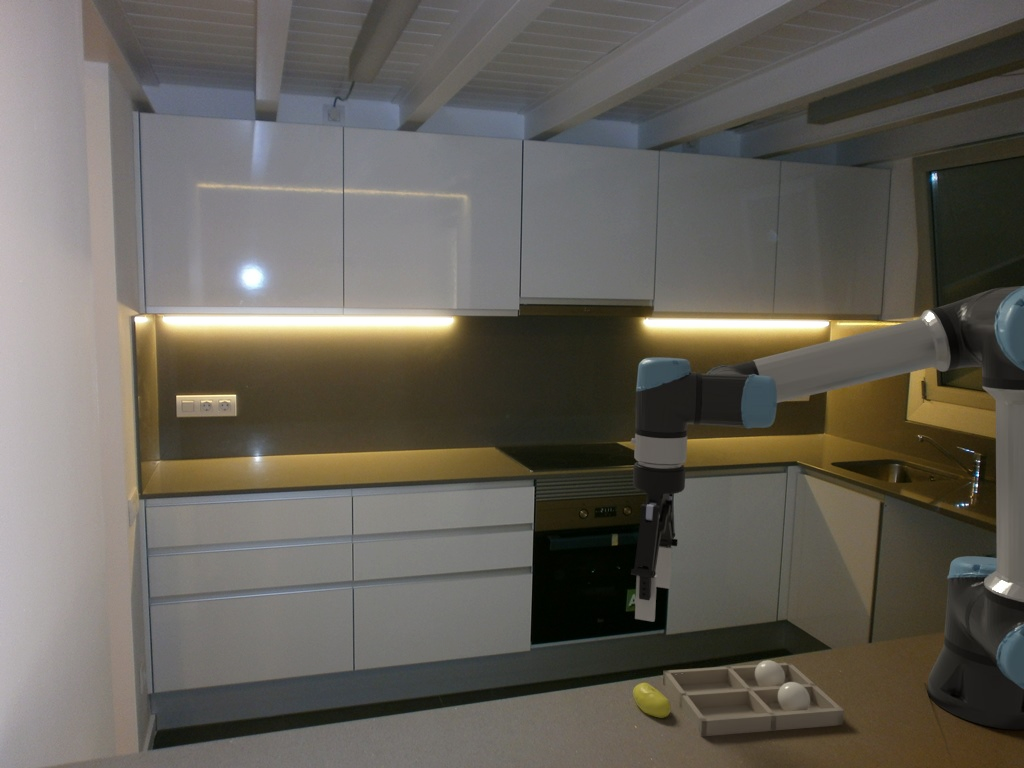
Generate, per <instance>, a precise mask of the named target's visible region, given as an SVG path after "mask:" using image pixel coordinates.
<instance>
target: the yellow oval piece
mask: <svg viewBox="0 0 1024 768" xmlns="http://www.w3.org/2000/svg"><path fill="white" fill-rule="evenodd" d="M632 696H633V699H634V701H635V703H636V705H637V706H638V708H639V709H640V710H641V711H642V712H643V713H645V714H646V715H649V716H652V717H654V718H659V719H664V718H667V717H668V716H669V715H670V713H671V711H672V709H671V708H672V707H671V702H670V700H669V699H668V698H667V697H666V696H665V695H664V694H663V693H662V692H660V690H658V689H657V688H656V687H653V686H652V685H651V684H649V683H648V682H642V683H638V684H637V685H636V686H634V688H633V691H632Z"/></svg>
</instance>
